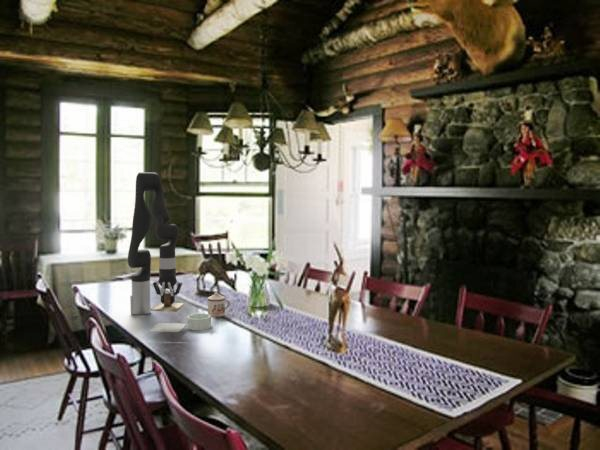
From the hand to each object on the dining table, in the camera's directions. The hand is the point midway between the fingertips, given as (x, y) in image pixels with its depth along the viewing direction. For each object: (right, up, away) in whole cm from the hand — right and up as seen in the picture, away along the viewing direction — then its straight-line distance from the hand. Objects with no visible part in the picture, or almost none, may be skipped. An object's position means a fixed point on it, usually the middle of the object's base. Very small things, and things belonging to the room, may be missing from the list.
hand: (167, 303), depth 241 cm
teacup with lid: (+20, -10, +27) cm, 35 cm away
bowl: (+14, -12, +2) cm, 18 cm away
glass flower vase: (+38, -8, +49) cm, 63 cm away
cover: (0, -2, 0) cm, 2 cm away
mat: (0, -12, +1) cm, 12 cm away
